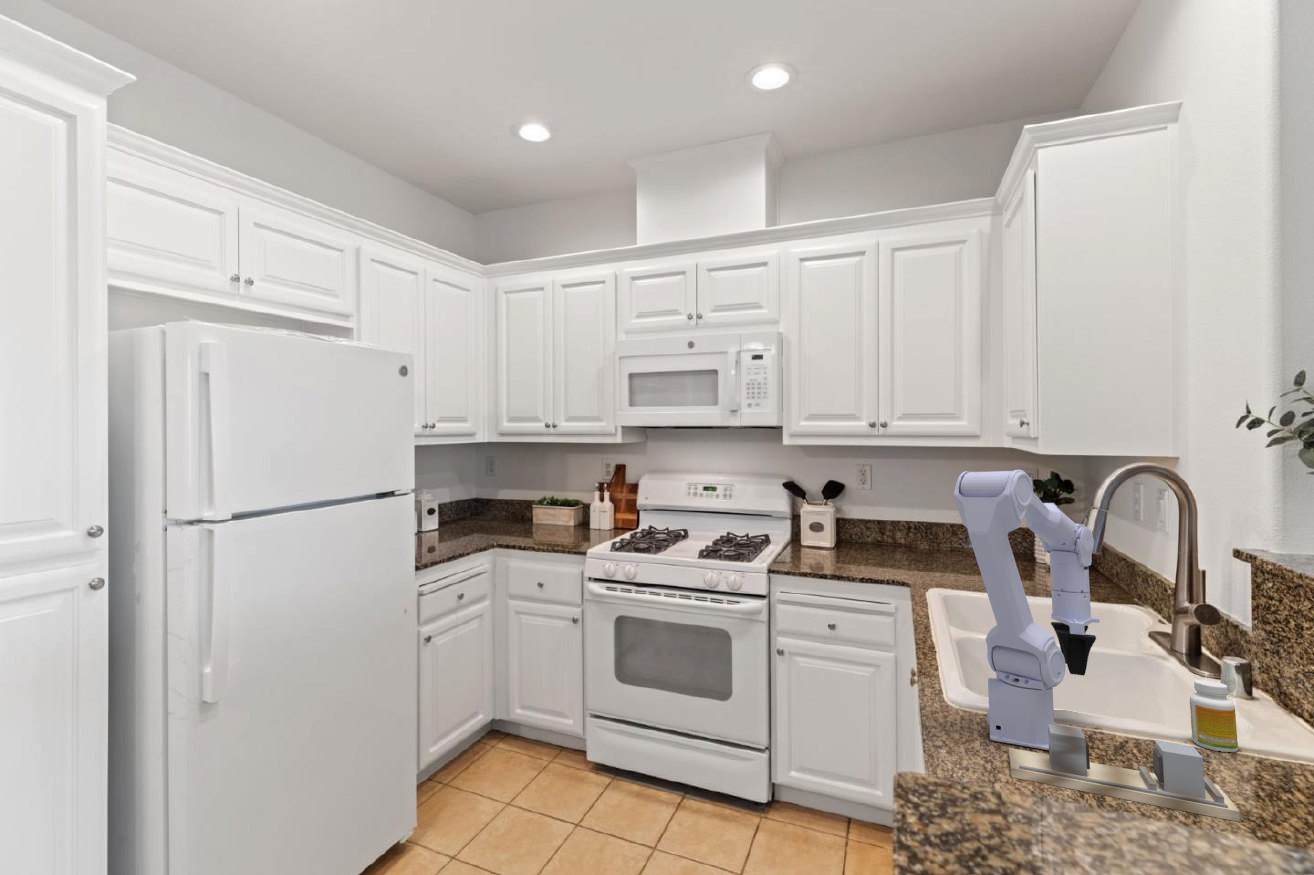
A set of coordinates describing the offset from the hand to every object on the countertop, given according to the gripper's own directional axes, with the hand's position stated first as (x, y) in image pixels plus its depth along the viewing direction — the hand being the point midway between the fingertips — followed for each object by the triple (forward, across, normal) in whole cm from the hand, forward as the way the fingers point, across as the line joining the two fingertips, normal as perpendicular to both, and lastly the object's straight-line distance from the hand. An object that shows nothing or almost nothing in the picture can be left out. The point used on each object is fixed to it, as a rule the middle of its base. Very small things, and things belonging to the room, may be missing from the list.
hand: (1074, 669), depth 108 cm
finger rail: (+9, -27, -1) cm, 28 cm away
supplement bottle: (+9, -2, -18) cm, 20 cm away
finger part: (+8, -27, -8) cm, 29 cm away
